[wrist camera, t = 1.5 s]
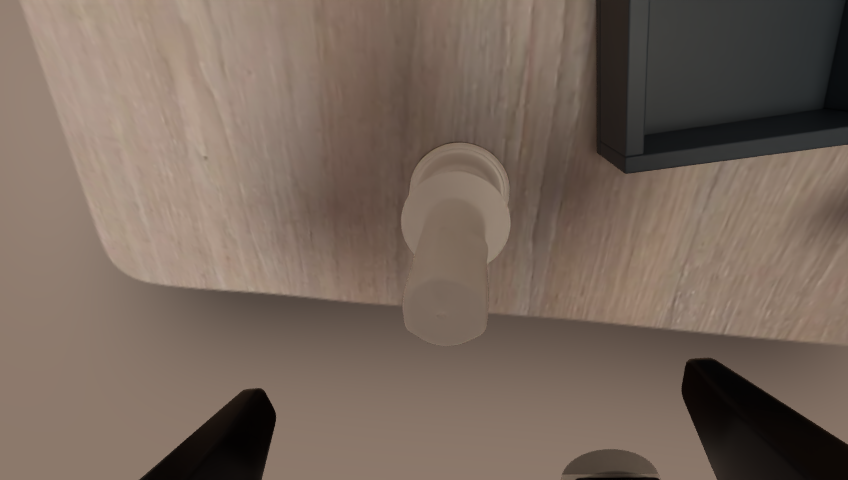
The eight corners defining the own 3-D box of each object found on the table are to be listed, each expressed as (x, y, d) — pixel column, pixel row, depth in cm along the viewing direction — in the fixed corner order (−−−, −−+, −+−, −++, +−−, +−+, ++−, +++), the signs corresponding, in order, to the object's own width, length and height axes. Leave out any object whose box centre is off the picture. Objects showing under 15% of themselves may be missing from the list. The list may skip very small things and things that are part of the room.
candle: (395, 161, 21) (310, 268, 10) (492, 127, 20) (515, 207, 9) (429, 248, 23) (388, 416, 12) (520, 222, 22) (567, 384, 11)
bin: (826, 120, 18) (917, 135, 14) (596, 153, 20) (625, 174, 16) (887, -163, 14) (1035, -244, 10) (595, -92, 16) (633, -139, 12)
